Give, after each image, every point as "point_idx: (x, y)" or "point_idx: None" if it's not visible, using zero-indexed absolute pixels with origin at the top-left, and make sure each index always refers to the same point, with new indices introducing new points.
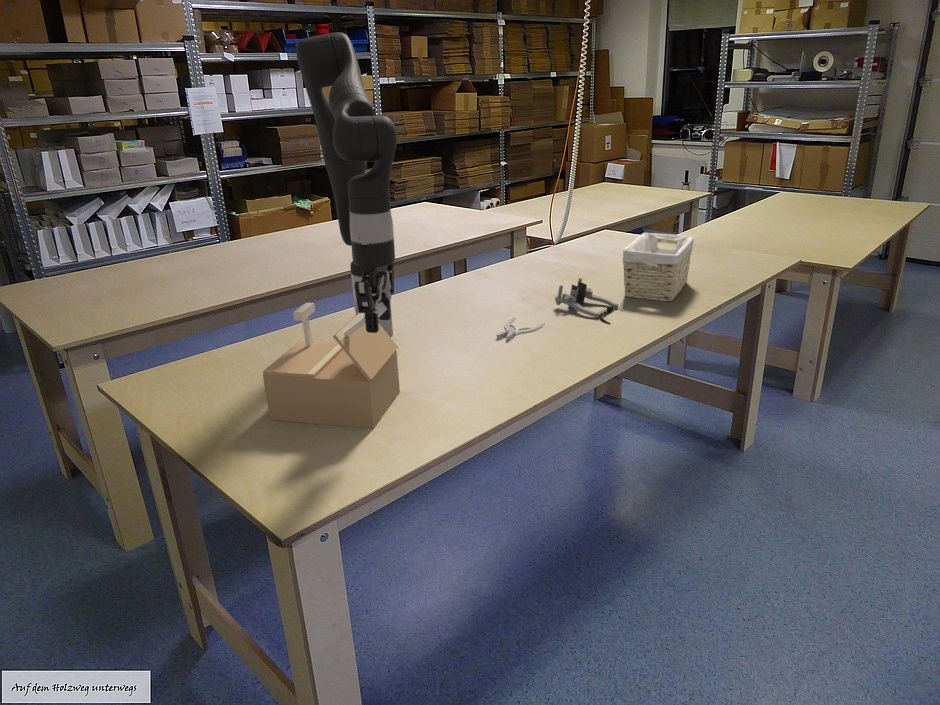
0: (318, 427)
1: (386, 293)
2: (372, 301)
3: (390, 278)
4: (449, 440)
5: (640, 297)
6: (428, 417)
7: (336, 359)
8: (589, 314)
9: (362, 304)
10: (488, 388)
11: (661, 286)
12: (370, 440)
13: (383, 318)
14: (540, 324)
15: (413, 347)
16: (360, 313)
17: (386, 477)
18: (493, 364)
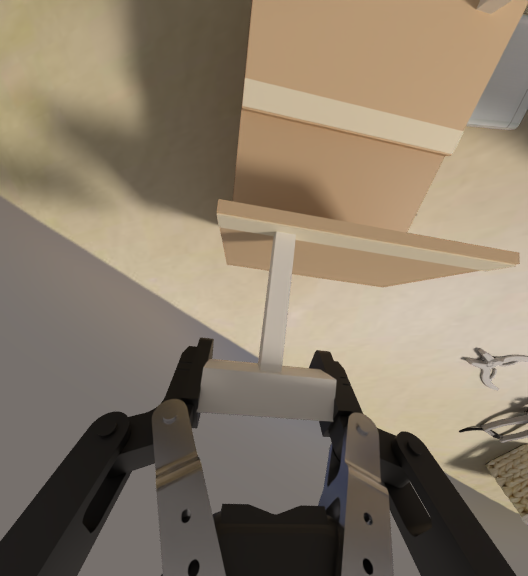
0: (235, 130)
1: (325, 482)
2: (105, 519)
3: (420, 565)
4: (215, 319)
5: (511, 452)
6: None
7: (359, 147)
8: (491, 423)
9: (108, 467)
10: (336, 346)
11: (507, 477)
12: (203, 232)
13: (314, 361)
14: (496, 387)
15: (516, 245)
16: (453, 256)
17: (123, 267)
18: (400, 348)
